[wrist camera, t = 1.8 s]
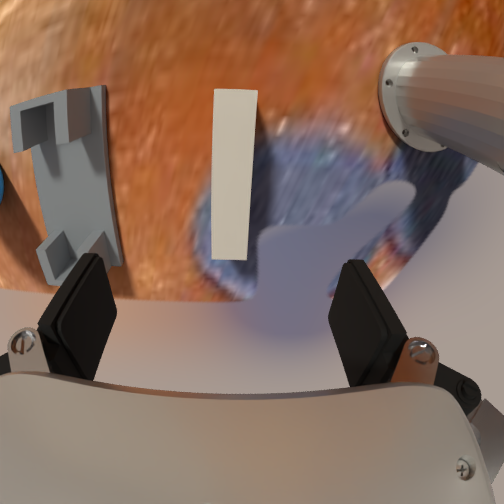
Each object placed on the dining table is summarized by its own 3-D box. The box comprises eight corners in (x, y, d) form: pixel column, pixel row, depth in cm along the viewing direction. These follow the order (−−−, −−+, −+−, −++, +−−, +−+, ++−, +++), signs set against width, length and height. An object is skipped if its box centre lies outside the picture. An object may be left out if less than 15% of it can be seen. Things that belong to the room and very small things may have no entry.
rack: (105, 85, 22) (78, 86, 17) (123, 261, 33) (108, 290, 28) (32, 102, 21) (2, 109, 16) (59, 258, 32) (40, 283, 27)
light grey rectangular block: (252, 90, 24) (257, 90, 18) (244, 223, 31) (246, 260, 25) (220, 89, 23) (214, 89, 17) (216, 223, 31) (211, 259, 25)
